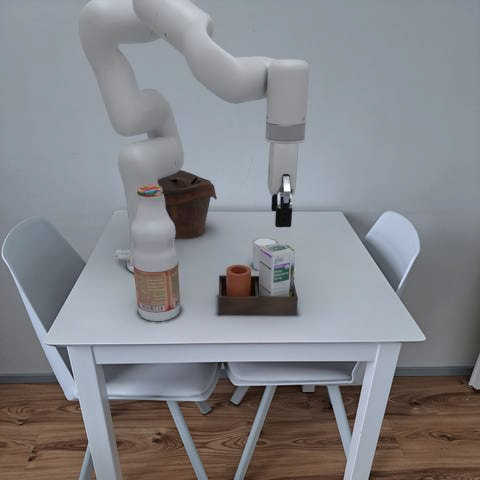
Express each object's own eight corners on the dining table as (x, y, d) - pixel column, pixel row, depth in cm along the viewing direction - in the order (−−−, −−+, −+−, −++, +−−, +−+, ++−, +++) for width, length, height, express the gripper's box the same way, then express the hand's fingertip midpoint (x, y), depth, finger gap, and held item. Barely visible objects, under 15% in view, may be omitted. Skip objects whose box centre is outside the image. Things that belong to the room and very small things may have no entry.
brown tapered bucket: (215, 243, 145) (215, 182, 136) (147, 241, 145) (142, 180, 136) (218, 221, 160) (218, 165, 151) (157, 220, 160) (152, 164, 151)
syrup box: (270, 314, 111) (273, 254, 103) (257, 302, 115) (259, 244, 108) (291, 308, 113) (296, 249, 106) (278, 297, 118) (281, 240, 110)
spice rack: (218, 314, 110) (218, 293, 107) (219, 296, 118) (219, 275, 115) (296, 315, 111) (298, 293, 108) (292, 296, 118) (293, 275, 115)
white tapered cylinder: (274, 273, 129) (276, 248, 125) (248, 270, 130) (249, 245, 126) (278, 262, 134) (279, 238, 131) (253, 259, 136) (254, 235, 132)
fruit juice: (148, 326, 105) (136, 198, 91) (131, 307, 112) (118, 185, 98) (187, 315, 110) (182, 190, 95) (169, 297, 116) (161, 178, 102)
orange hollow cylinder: (226, 311, 112) (226, 275, 107) (226, 299, 116) (226, 264, 112) (250, 311, 112) (251, 275, 107) (249, 299, 116) (250, 264, 112)
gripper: (262, 124, 102) (260, 205, 111) (268, 141, 87) (265, 233, 96) (299, 124, 102) (293, 205, 111) (311, 141, 87) (304, 233, 96)
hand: (280, 218), depth 103 cm, fingers open, 9 cm apart
